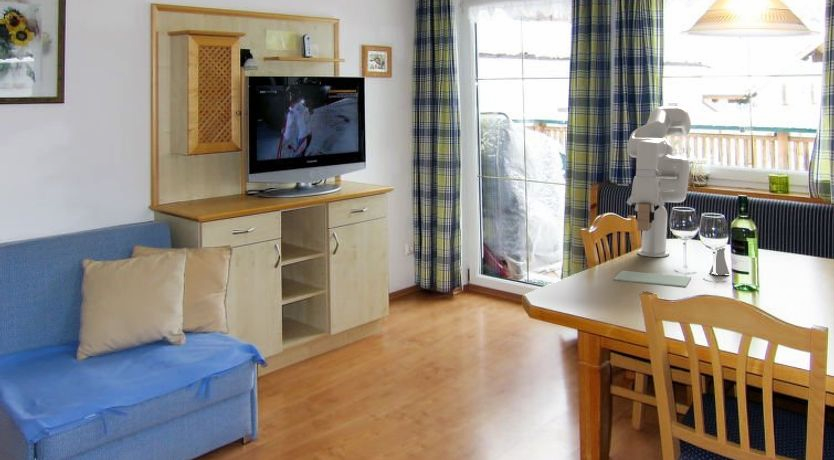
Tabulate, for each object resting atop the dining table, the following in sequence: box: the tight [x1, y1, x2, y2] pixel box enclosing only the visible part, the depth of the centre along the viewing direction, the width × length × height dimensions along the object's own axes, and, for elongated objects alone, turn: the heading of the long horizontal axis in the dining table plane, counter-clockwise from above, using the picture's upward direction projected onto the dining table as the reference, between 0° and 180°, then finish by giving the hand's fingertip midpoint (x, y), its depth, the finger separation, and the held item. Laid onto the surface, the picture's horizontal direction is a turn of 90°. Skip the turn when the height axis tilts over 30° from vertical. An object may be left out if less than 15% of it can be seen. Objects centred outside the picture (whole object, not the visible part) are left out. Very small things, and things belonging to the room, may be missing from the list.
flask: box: [709, 247, 730, 275], centre depth 282 cm, size 7×7×10 cm
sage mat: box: [613, 270, 692, 288], centre depth 277 cm, size 13×25×1 cm, turn 63°
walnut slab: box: [636, 203, 652, 232], centre depth 287 cm, size 8×4×10 cm, turn 153°
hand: (644, 221), depth 288 cm, fingers closed on walnut slab, 4 cm apart
